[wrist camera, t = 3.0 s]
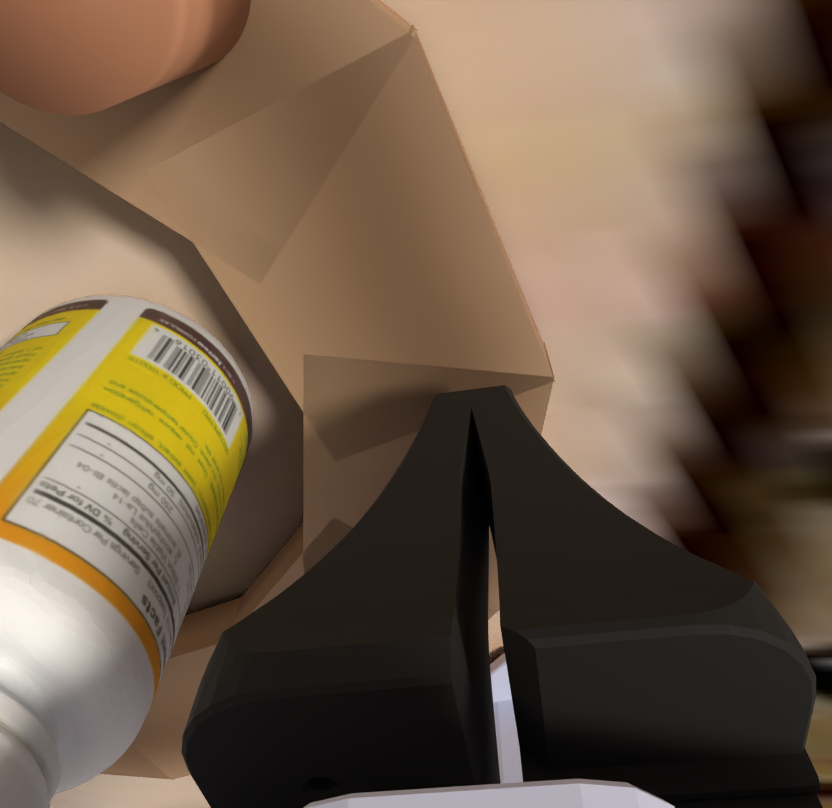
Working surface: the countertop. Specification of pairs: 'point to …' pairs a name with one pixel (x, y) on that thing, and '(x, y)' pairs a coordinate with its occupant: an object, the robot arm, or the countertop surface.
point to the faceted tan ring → (290, 236)
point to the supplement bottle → (103, 524)
